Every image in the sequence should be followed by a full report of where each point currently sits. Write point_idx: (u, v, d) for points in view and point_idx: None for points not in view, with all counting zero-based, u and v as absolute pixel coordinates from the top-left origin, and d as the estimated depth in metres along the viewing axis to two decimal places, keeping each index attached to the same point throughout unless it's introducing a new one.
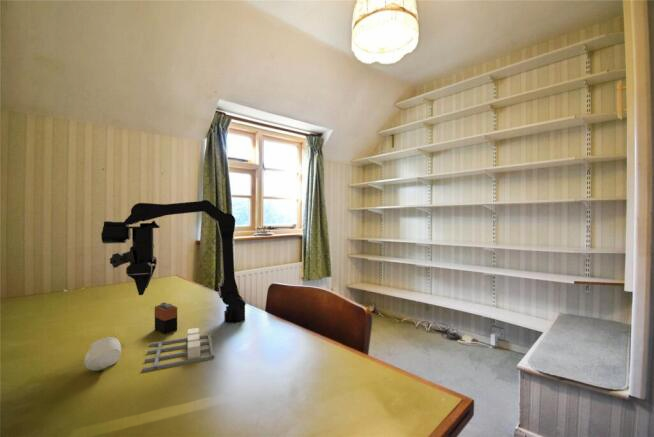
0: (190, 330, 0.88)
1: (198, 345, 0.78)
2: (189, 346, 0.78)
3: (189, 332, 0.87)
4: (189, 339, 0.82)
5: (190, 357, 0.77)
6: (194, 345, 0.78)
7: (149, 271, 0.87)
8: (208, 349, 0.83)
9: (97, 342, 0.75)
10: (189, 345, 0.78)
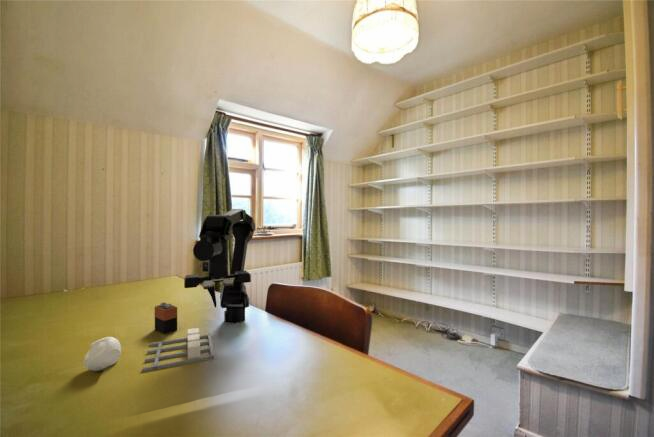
0: (190, 330, 0.88)
1: (198, 345, 0.78)
2: (189, 346, 0.78)
3: (189, 332, 0.87)
4: (189, 339, 0.82)
5: (190, 357, 0.77)
6: (194, 345, 0.78)
7: (185, 286, 0.85)
8: (208, 349, 0.83)
9: (97, 342, 0.75)
10: (189, 345, 0.78)
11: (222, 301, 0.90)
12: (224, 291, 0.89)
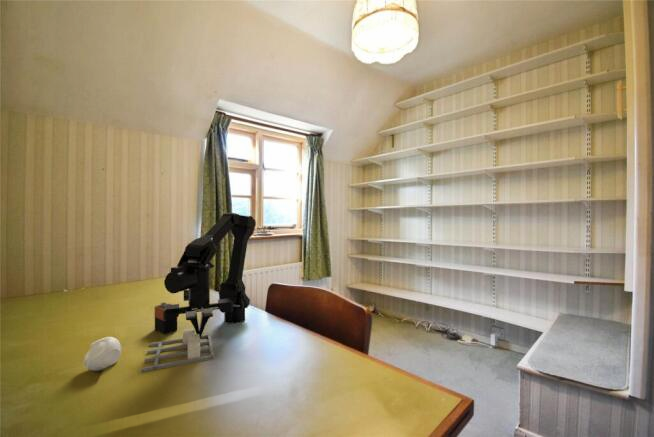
0: (185, 331, 0.88)
1: (198, 345, 0.78)
2: (189, 346, 0.78)
3: (184, 333, 0.86)
4: (189, 339, 0.82)
5: (190, 357, 0.77)
6: (194, 345, 0.78)
7: (163, 318, 0.82)
8: (208, 349, 0.83)
9: (97, 342, 0.75)
10: (189, 345, 0.78)
11: (201, 332, 0.88)
12: (203, 322, 0.87)
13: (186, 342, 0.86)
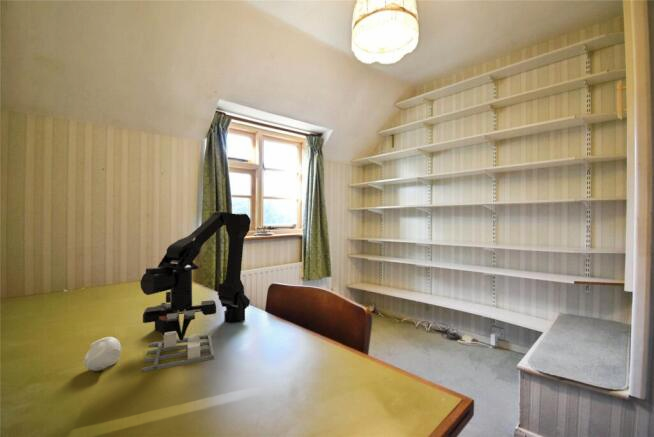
0: (167, 333, 0.86)
1: (198, 345, 0.78)
2: (189, 346, 0.78)
3: (165, 336, 0.84)
4: (189, 339, 0.82)
5: (190, 357, 0.77)
6: (194, 345, 0.78)
7: (143, 321, 0.80)
8: (208, 349, 0.83)
9: (97, 342, 0.75)
10: (189, 345, 0.78)
11: (183, 335, 0.86)
12: (184, 324, 0.85)
13: (167, 345, 0.84)
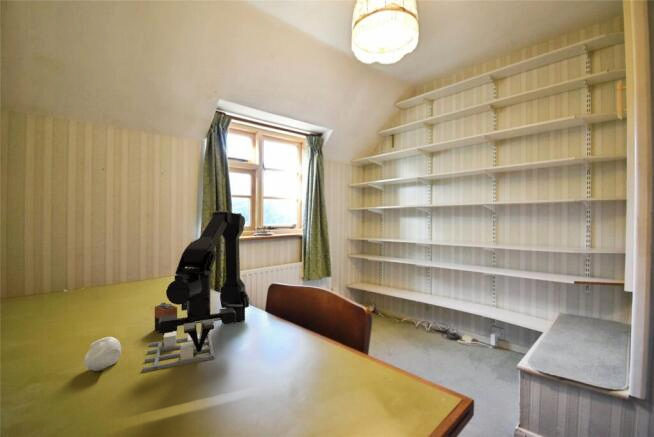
0: (167, 333, 0.86)
1: (191, 346, 0.78)
2: (182, 347, 0.77)
3: (165, 336, 0.84)
4: (189, 339, 0.82)
5: (183, 358, 0.76)
6: (187, 347, 0.77)
7: (159, 331, 0.73)
8: (208, 349, 0.83)
9: (97, 342, 0.75)
10: (182, 346, 0.78)
11: (201, 346, 0.79)
12: (203, 335, 0.78)
13: (167, 345, 0.84)
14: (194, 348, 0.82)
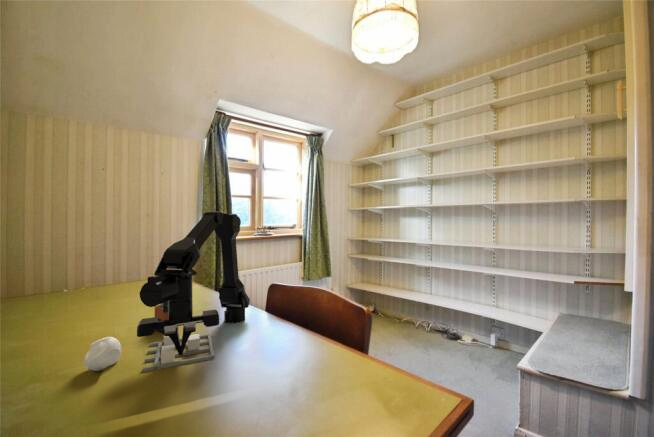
0: None
1: (172, 349, 0.76)
2: (163, 350, 0.75)
3: (165, 336, 0.84)
4: (189, 339, 0.82)
5: (163, 362, 0.75)
6: (168, 350, 0.76)
7: (137, 334, 0.71)
8: (208, 349, 0.83)
9: (97, 342, 0.75)
10: (163, 349, 0.76)
11: (182, 349, 0.77)
12: (184, 338, 0.76)
13: (167, 345, 0.84)
14: (194, 348, 0.82)
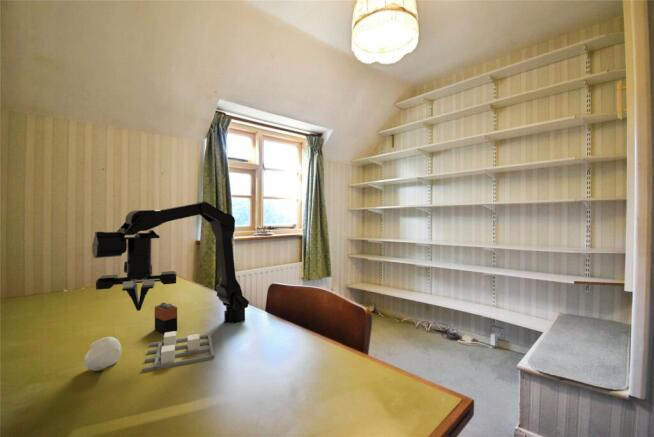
0: (167, 333, 0.86)
1: (172, 349, 0.76)
2: (163, 350, 0.75)
3: (165, 336, 0.84)
4: (189, 339, 0.82)
5: (163, 362, 0.75)
6: (168, 350, 0.76)
7: (96, 287, 0.77)
8: (208, 349, 0.83)
9: (97, 342, 0.75)
10: (163, 349, 0.76)
11: (140, 304, 0.83)
12: (141, 293, 0.82)
13: (167, 345, 0.84)
14: (194, 348, 0.82)
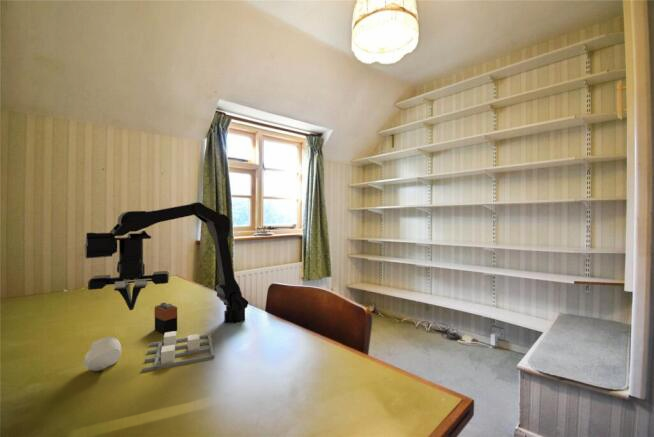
0: (167, 333, 0.86)
1: (172, 349, 0.76)
2: (163, 350, 0.75)
3: (165, 336, 0.84)
4: (189, 339, 0.82)
5: (163, 362, 0.75)
6: (168, 350, 0.76)
7: (88, 287, 0.79)
8: (208, 349, 0.83)
9: (97, 342, 0.75)
10: (163, 349, 0.76)
11: (132, 304, 0.84)
12: (133, 293, 0.83)
13: (167, 345, 0.84)
14: (194, 348, 0.82)
